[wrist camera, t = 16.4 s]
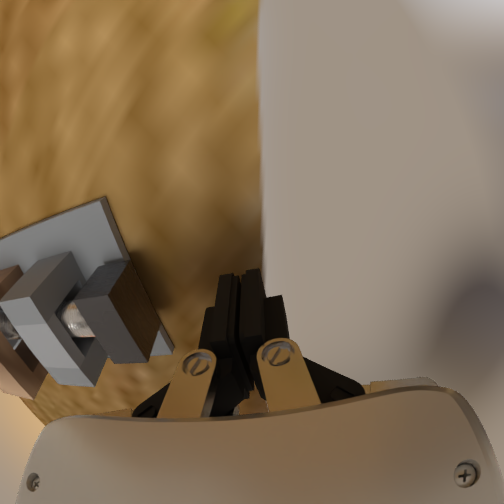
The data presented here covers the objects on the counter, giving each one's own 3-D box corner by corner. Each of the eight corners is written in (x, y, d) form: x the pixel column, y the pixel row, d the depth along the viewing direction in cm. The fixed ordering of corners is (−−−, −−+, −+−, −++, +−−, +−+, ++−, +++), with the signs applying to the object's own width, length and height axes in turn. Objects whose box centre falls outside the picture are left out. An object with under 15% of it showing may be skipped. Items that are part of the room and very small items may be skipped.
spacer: (65, 341, 17) (33, 399, 12) (33, 342, 17) (3, 392, 12) (18, 264, 14) (-32, 318, 9) (-10, 273, 14) (-53, 320, 9)
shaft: (161, 323, 15) (147, 362, 12) (6, 334, 16) (-10, 357, 14) (130, 259, 13) (107, 295, 10) (-20, 293, 14) (-39, 316, 12)
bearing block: (174, 347, 17) (159, 409, 13) (2, 350, 19) (-19, 383, 15) (105, 196, 13) (51, 241, 8) (-50, 264, 15) (-81, 293, 10)
